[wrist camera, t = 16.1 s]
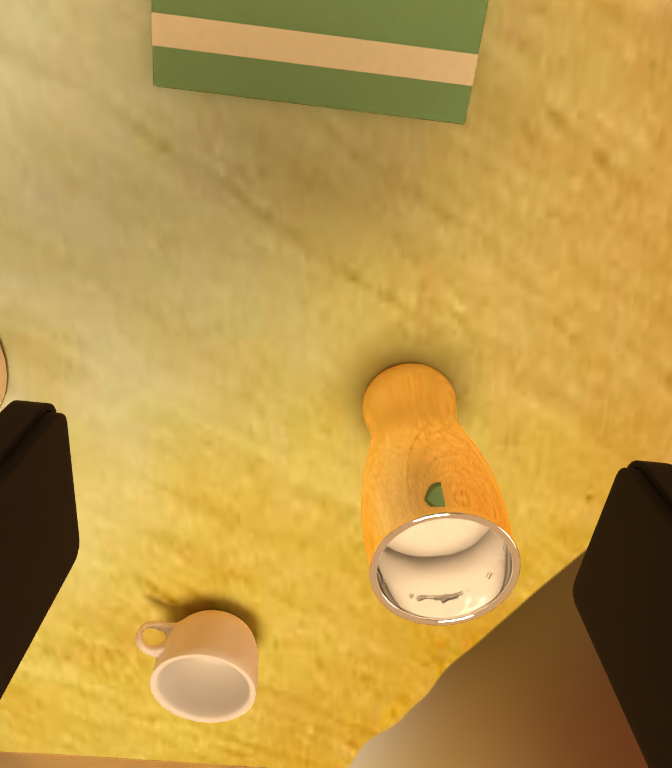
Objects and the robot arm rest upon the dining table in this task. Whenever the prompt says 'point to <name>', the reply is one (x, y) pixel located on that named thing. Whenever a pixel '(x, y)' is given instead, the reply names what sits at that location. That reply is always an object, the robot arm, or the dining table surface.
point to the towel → (324, 52)
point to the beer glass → (431, 505)
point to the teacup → (204, 666)
